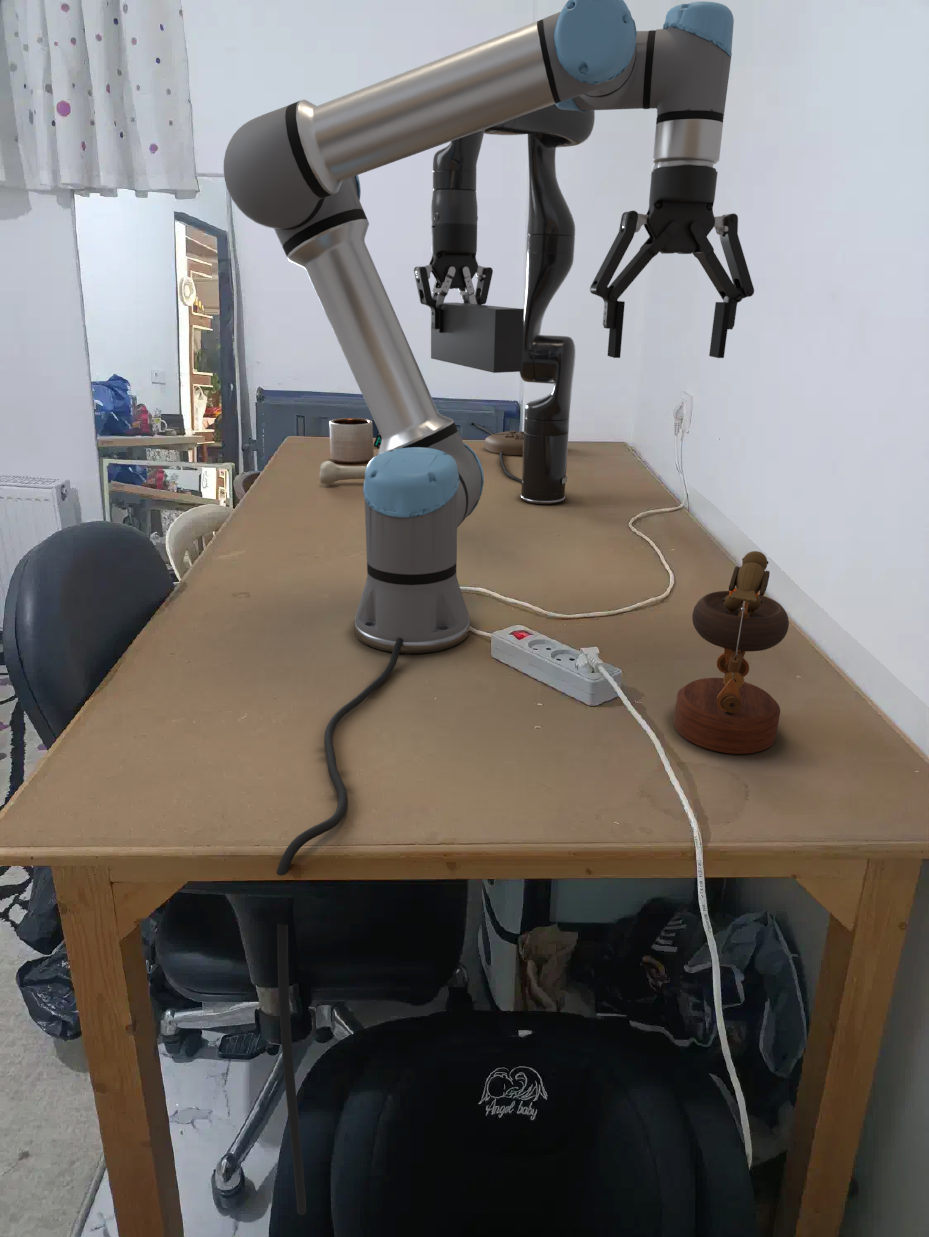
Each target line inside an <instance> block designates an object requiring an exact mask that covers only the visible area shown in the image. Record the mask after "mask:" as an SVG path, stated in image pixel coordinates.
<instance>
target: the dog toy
mask: <svg viewBox="0 0 929 1237" xmlns="http://www.w3.org/2000/svg"><path fill="white" fill-rule="evenodd" d="M366 467H367V465H366V466H365V465H364V466H361V465H360V466H359V465H358V466H357V465H356V466H355V465H354V466H353V465H352V466H345V465H339V464H336V463H334V461H331V460H326V461H323V462H322V463H321V465H320V466H319V475H318V477H319V482H320V483H321V484H324V485H325V484H326V485H331V484H334V483H335V482H337V481H338V482H339V481H347V480H365V470H366Z"/></svg>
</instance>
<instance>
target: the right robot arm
mask: <svg viewBox="0 0 929 1237" xmlns="http://www.w3.org/2000/svg"><path fill="white" fill-rule="evenodd" d="M595 118H596V110H589V111H587V112H581V111H579V110H562V109H560V108H558V107H557V106H556V104H553V105H550V106H547V107H545V108H542V109H539V110H536V111H533V112H531V113H528V114H525V115H522V116H520V117H517V118H514V119H511V120H509V121H506V122H503V123H500V124H497V125H495V126H492V127H489V128H486V129H484V130H481V131H478V132H475V133H473V134H470V135H467V136H464V137H461V138H459V139H456V140H453V141H450V142H449V144H448V145H447V146H444V147H443V148H441V149H439V150H437V151H436V152H435V153H434V154H433V158H432V195H431V196H432V198H431V205H430V210H431V211H430V221H431V222H430V233H431V234H430V237H431V238H430V252H431V259H430V261H429V264H426V265H423V266H421V265H420V266H415V267H414V268H413V273H414V280H415V283H416V284H415V285H416V288H417V293H418V298H419V302H420V304H421V305H423V306H427V307H429V308H430V327H431V326H432V329H434V332H436V333H442V332H443V310H442V309H441V308H442V305H443V303H445V299H446V296H448V293H449V291H450V290H454V289H457V290H458V292H459V295H460V296H461V299H462V301H463V302H462V303H467V304H478V305H486V303H487V301H488V296H489V292H490V287H491V282H492V278H493V273H494V270H493V268H492V267H489V266H481V265H479V263H478V261H477V252H478V251H477V250H478V220H479V216H478V200H477V199H478V197H477V175H478V174H477V173H478V172H477V171H478V170H477V165H478V159H479V155H480V152H481V148H482V143H483V139H484V135H491V136H523V135H524V136H525V135H527V155H528V156H527V157H528V212H527V228H526V242H525V243H526V245H525V249H526V250H525V283H524V284H525V285H524V287H525V288H524V304H523V309H524V331H523V356H522V372H519V375H520V378H521V380H522V381H523V382H526V383H536V384H548V385H549V384H550V385H551V384H552V385H553V387H552V390H551V392H550V393H548V394H547V395H545V396H543V397H540V398H537V399H533V400H530V401H528V402H527V403H526V404H525V406H524V417H523V418H524V419H523V420H524V421H523V423H524V424H523V432H524V443H523V455H522V470H521V471H522V472H521V478H519V477H517V476H515V475H513V474H512V473H510V472H509V471H508V470H507V467H506V466H505V462H504V454H503V452H502V451H501V452H500V454H499V461H500V466H501V468H502V470H503V472H504V474H505V475H506V476H507V477H509V478H511V479H512V480H514V481H516V482H518V483H521V490H520V491H521V493H520V500H521V501H523V502H526V503H529V504H536V505H556V504H561V503H563V502H565V500H566V483H567V482H568V476H567V465H568V449H569V432H570V417H571V416H570V415H571V406H572V405H571V404H572V394H573V382H574V373H575V366H576V344H575V342H574V339H573V338H572V337H570V336H568V335H567V336H566V335H551V334H550V335H549V334H548V335H547V334H541V331H542V330H541V329H542V324H543V321H544V317H545V314H546V311H547V310H548V307H549V305H550V303H551V302H552V300H553V298H554V296H555V295H556V294H557V292H558V291H559V289H560V287H561V286H562V285H563V284H564V282H565V280H566V279H567V277H568V276H569V273H570V272H571V269H572V267H573V265H574V259H575V244H576V223H575V220H574V217H573V214H572V212H571V210H570V207H569V205H568V203H567V200H566V199H565V197H564V194H563V192H562V189H561V188H560V185H559V181H558V178H557V168H556V166H557V165H556V154H557V153H556V151H557V148H568V147H569V148H570V147H575V146H579V145H581V144H583V143H585V142H586V141H588V139H589V138H590V136H591V135H592V132H593V130H594V126H595V120H596V119H595ZM431 274H432V275H433V277H434V279H435V281H434V285H433V288H432V289H431V285H430V281H429V279H430V278H431ZM475 275H476V279H477V283H476V286H475V287H474V283H473V278H474V277H475ZM431 290H432V291H431ZM470 425H471V426H473V425H475V426H476V427H477V428H478V429H480V430H482V431H484V432H486V433H488V434H489V435H492V434H494V432H493V431H491V430H489V429H488V428H485V427H484V426H481V425H479V424H478V425H477V424H475V423H473V422H472V421H471V423H470Z"/></svg>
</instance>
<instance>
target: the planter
mask: <svg viewBox="0 0 929 1237" xmlns="http://www.w3.org/2000/svg"><path fill="white" fill-rule="evenodd" d="M328 424H329V425H328V426H329V453H330V454H329V455H330V456H329V457H330V459H331V460H332V461H333V462H335V463H341V464H363V463H367V462H368V463H369V462H370V461H371V460H372V459H373V458H374V457H375V455H374V452H375V451H374V450H375V449H374V430H373V429H374V428H373V420H371V419H369V418H362V417H361V418H360V417H342V418H341V417H340V418H335V419H334V418H333V419H331V420H329V421H328Z"/></svg>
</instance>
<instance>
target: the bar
mask: <svg viewBox="0 0 929 1237" xmlns="http://www.w3.org/2000/svg"><path fill="white" fill-rule="evenodd" d="M441 309H442V310H443V332H442V333H436V332H434V329H432V326H431V325H430V359H432V360H436V361H441V362H445V363H448V364H452V365H453V364H454V365H458V366H462V367H467V368H471V369H476V370H480V371H484V372H488V373H493V374H500V373H520V372H522V356H523V331H524V308H518V307H508V306H507V307H506V306H497V305H487V304H482V305H478V304H467V303H464V302H443V305H442V308H441Z"/></svg>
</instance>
